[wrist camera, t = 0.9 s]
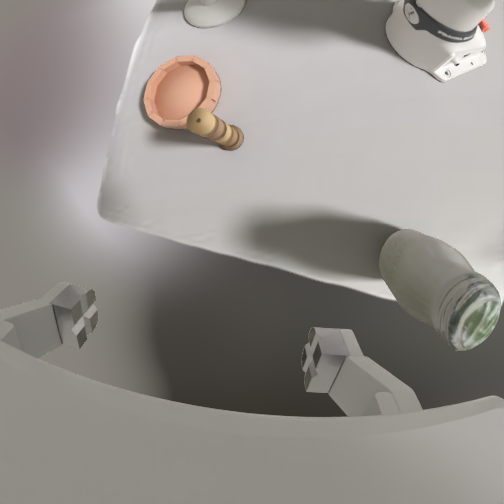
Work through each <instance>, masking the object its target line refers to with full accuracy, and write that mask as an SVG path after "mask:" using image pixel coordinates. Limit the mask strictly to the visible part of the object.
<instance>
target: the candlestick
mask: <svg viewBox="0 0 504 504" xmlns="http://www.w3.org/2000/svg"><path fill="white" fill-rule="evenodd" d="M244 5H245V0H188V1H187V3H186V5H185V8H184V16H185V18H186V20H187V21H188V22H189V23H190V24H191V25H193V26H195V27H199V28H213V27H217V26H220V25H223V24H225V23H227V22H229V21H231V20H232V19H234V18H235V17H236V16H237V15H239V13H240V12H241V11H242V9H243V8H244Z"/></svg>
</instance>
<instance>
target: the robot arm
mask: <svg viewBox="0 0 504 504" xmlns="http://www.w3.org/2000/svg"><path fill="white" fill-rule="evenodd" d="M494 4H495V0H400V1H396V2H395V4H394V5H393V13H392V14H391V16H390V17H389V18H388V20H387V22H386V34H387V37H388V40H389V42H390V43H391V45H392V47H393V48H394V49H395V50H396V52H397V53H398V54H399V55H400V56H401V57H403V58H404V59H405V60H406V61H408V62H409V63H411V64H412V65H414V66H416V67H418V68H420V69H423V70H425V71H427V72H429V73H431V74H432V75H433V76H434V77H435V78H436V79H438V80H439V81H441V82H446V81H448V80H451V79H453V78H455V77H457V76H460V75H462V74H464V73H466V72H469V71H471V70H473V69H475V68H478V67H480V66H482V65H484V64H485V63H486V54H485V51H484V49H485V47H486V41H485V38H484V35H483V33H482V32H486V31H488V30H490V27H489V25H488V24H487V23H486V21H485V19H484V18H485V17H486V16H487V15H488V14H489V12H490V11H491V10H492V9H493V7H494ZM478 25H479V26H478ZM445 73H447V75H446V74H445ZM95 301H96V297H95V292H94V291H93V290H92V289H89V288H85V287H82V286H78V285H74V284H71V283H67V282H59V283H58V284H57V285H56V286H54V287H53V288H52V289H51V290H50V291H49V292H48V293H47V294H45V295H44V296H43V297H42V298H41V299H40V300H38V299H35V300H31V301H28V302H25V303H22V304H18V305H15V306H12V307H8V308H5V309H1V310H0V504H504V399H501V398H500V397H498V396H489V397H484V398H481V399H477V400H473V401H468V402H464V403H459V404H455V405H450V406H444V407H439V408H433V409H427V410H422V408H421V405H420V403H419V401H418V399H417V397H416V395H415V393H414V391H413V389H411V388H410V387H408V386H407V385H406V384H404V383H403V382H401V381H400V380H399V379H397V378H396V377H394V376H393V375H392V374H390V373H389V372H388V371H386V370H385V369H383V368H382V367H381V366H379V365H378V364H377V363H375V362H374V361H372V360H371V359H370V358H368V357H364V356H363V354H362V351H361V350H360V347H359V345H358V342H357V340H356V338H355V336H354V333H353V331H352V330H350V329H330V328H317V327H312V328H311V330H310V332H309V335H308V338H309V343H308V344H306V345H305V347H304V350H303V354H302V369H303V371H305V373H306V374H305V377H304V381H305V387H306V391H307V392H321V393H329V395H330V396H331V397H332V399H333V400H334V401H335V402H336V403H337V404H338V405H339V407H340V408H341V409H342V410H343V411H344V412H345V413H346V414H347V415H348V417H291V416H289V417H288V416H274V415H261V414H251V413H241V412H233V411H226V410H219V409H212V408H206V407H200V406H194V405H189V404H184V403H179V402H174V401H168V400H164V399H160V398H155V397H151V396H147V395H143V394H139V393H135V392H132V391H128V390H124V389H121V388H117V387H114V386H111V385H107V384H105V383H101V382H98V381H95V380H92V379H89V378H87V377H84V376H81V375H78V374H75V373H73V372H70V371H67V370H65V369H62V368H59V367H57V366H55V365H52V364H50V363H47V362H45V361H43V360H40V359H38V358H40V357H42V356H43V355H45V354H47V353H49V352H50V351H52V350H54V349H56V348H58V347H59V346H61V345H62V344H64V345H66V346H70V347H73V348H76V349H80V348H81V347H82V346H83V344H84V343H85V342H86V340H87V334H89V333H92V332H93V331H94V329H95V327H96V325H97V322H98V311H97V309H96V307H95V306H94V304H93V303H94V302H95Z"/></svg>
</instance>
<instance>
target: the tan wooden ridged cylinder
mask: <svg viewBox="0 0 504 504" xmlns="http://www.w3.org/2000/svg"><path fill="white" fill-rule="evenodd" d="M186 124H187V127H188V129H189V130H190V131H191V132H193V133H195V134H197V135H200V136H202V137H205V138H207V139H209V140H212V141H214V142H216V143H218V144H219V145H220V146H221V147H222V148H223V149H225V150H229V151H232V150H236V149H237V148H239V147H240V146H241V144H242V143H243V139H244V136H243V133H242V131H241V130H240V129H239V128H238V127H236V126H234V125H228V124H227V123H226V122H224V121H223V120H221V119H220V118H218V117H217V116H215V115H214V114H212V113H211V112H209V111H208V110H206V109H204V108H197V109H195V110H193V111H192V112H191V113H190V114H189V115H188V117H187V121H186Z"/></svg>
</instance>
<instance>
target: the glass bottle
mask: <svg viewBox="0 0 504 504" xmlns="http://www.w3.org/2000/svg"><path fill="white" fill-rule="evenodd" d="M379 269H380V273H381V276H382V278H383V279H384V281H385V283H386V284H387V286H388V287H389V289H390V290H391V292H392V293H393V295H394V297H395V298H396V300H397V301H398V303H399V304H400V305H401V306H402V308H403V309H404V310H405V311H407V312H408V313H409V314H411V315H413V316H414V317H416V318H418V319H419V320H421V321H423V322H425V323H428V324H430V325H432V326H433V327H435V329H436V331H437V332H438V334H439V336H440V337H441V338H442V339H443V340H444V341H445V342H446V343H447V344H449V345H450V346H451V347H452V348H454V350H455V351H465V350H469V349H471V348H474V347H475V346H477V345H479V344H480V343H481V342H483V341H484V340H485V339H486V338H487V337H488V336H489V334H490V333H491V332H492V330H493V329H494V327H495V325H496V323H497V320H498V317H499V313H500V308H501V300H500V295H499V293H498V291H497V289H496V288H495V286H494V285H493V284H492V283H491V282H490V281H489V280H488V279H487V278H486V277H484V276H483V275H481V274H479V273H477V272H475V271H474V269H473V268H472V267H471V265H470V264H469V262H468V261H467V260H466V258H465V257H464V256H463V255H462V254H461V253H460V252H459V251H457V250H456V249H455V248H453V247H452V246H450V245H448V244H447V243H445V242H443V241H441V240H439V239H436V238H433V237H430V236H427V235H424V234H422V233H420V232H417V231H414V230H410V229H404V230H399V231H397V232H395V233H393V234H392V235H391V236H390V237H389V238H388V239H387V240H386V242H385V243H384V245H383V247H382V249H381V252H380V256H379Z"/></svg>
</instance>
